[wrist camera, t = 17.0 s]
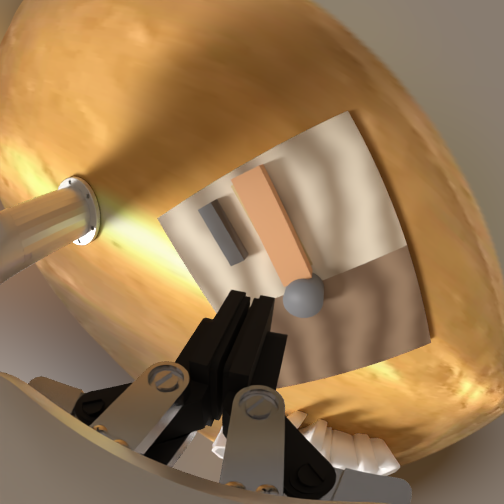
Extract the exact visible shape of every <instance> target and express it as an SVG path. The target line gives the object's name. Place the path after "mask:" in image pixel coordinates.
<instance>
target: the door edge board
mask: <svg viewBox="0 0 504 504" xmlns="http://www.w3.org/2000/svg"><path fill="white" fill-rule="evenodd" d="M262 164H263V165H264V167H265V169H266V171H267V173H268V175H269V177H270V179H271V181H272V183H273V185H274V187H275V189H276V191H277V193H278V195H279V197H280V199H281V202H282V204H283V206H284V208H285V210H286V212H287V214H288V216H289V219H290V221H291V223H292V225H293V227H294V229H295V232H296V234H297V236H298V238H299V240H300V243H301V245H302V247H303V249H304V252H305V254H306V256H307V258H308V261H309V263H310V265H311V268H312V270H313V272H312V273H315V274H316V275H318V276H319V277H320V278H321V280H322V281H323V284H324V299H323V306H322V308H321V310H320V311H319V312H318V313H317V314H316V315H314V316H312V317H309V318H299V317H296V316H293V315H292V314H290V313H289V312H288V311H287V310H286V309H285V307H284V304H283V296H284V292H285V289H286V286H285V287H284V286H283V284H282V282H281V280H280V278H279V276H278V274H277V272H276V270H275V268H274V266H273V264H272V262H271V260H270V258H269V256H268V254H267V251H266V249H265V247H264V245H263V243H262V241H261V239H260V237H259V235H258V233H257V231H256V229H255V227H254V225H253V223H252V221H251V219H250V217H249V215H248V213H247V211H246V209H245V207H244V205H243V203H242V201H241V199H240V197H239V195H238V193H237V191H236V189H235V187H234V185H233V183H232V182H231V179H233V178H235V177H237V176H239V175H241V174H243V173H245V172H247V171H249V170H251V169H253V168H255V167H257V166H259V165H262ZM157 219H158V220H159V222H160V224H161V226H162V227H163V229H164V231H165V232H166V234H167V236H168V237H169V239H170V241H171V242H172V244H173V246H174V247H175V249H176V251H177V252H178V254H179V256H180V257H181V259H182V260H183V262H184V264H185V265H186V267H187V269H188V270H189V272H190V273H191V275H192V276H193V278H194V280H195V281H196V283H197V284H198V286H199V287H200V289H201V290H202V292H203V294H204V295H205V297H206V298H207V300H208V301H209V303H210V304H211V306H212V307H213V309H214V310H215V312H216V313H217V312H218V311H219V309H220V307H221V306H222V304H223V302H224V301H225V299H226V297H227V296H228V294H229V292H230V291H231V290H237V291H242V292H246V296H248V297H250V298H251V300H250V306H251V304H252V302H253V299H254V298H259V297H260V295H263V296H269V297H274V298H275V303H274V310H273V317H272V323H271V330H270V332H275V333H281V334H286V335H288V337H287V342H286V346H285V351H284V356H283V361H282V365H281V370H280V374H279V379H278V383H277V387H276V388H282V387H287V386H292V385H297V384H301V383H306V382H310V381H315V380H319V379H323V378H327V377H331V376H335V375H338V374H342V373H346V372H349V371H353V370H356V369H359V368H363V367H366V366H369V365H372V364H375V363H378V362H381V361H384V360H387V359H390V358H393V357H396V356H398V355H401V354H404V353H406V352H409V351H412V350H414V349H417V348H419V347H422V346H424V345H427V344H429V343H431V340H430V334H429V329H428V324H427V319H426V314H425V309H424V305H423V301H422V296H421V292H420V288H419V284H418V281H417V277H416V273H415V270H414V266H413V263H412V259H411V256H410V253H409V250H408V247H407V243H406V240H405V237H404V234H403V232H402V229H401V226H400V223H399V220H398V218H397V215H396V212H395V210H394V207H393V204H392V202H391V199H390V197H389V194H388V192H387V190H386V187H385V185H384V183H383V180H382V178H381V176H380V173H379V171H378V169H377V167H376V165H375V162H374V160H373V158H372V156H371V154H370V152H369V150H368V148H367V146H366V144H365V142H364V140H363V138H362V136H361V134H360V132H359V130H358V128H357V127H356V125H355V123H354V121H353V119H352V117H351V116H350V114H349V112H348V111H346V112H344V113H342V114H339V115H337V116H335V117H333V118H331V119H329V120H327V121H325V122H322V123H320V124H318V125H316V126H314V127H312V128H310V129H308V130H306V131H304V132H302V133H300V134H298V135H296V136H294V137H292V138H291V139H289V140H287V141H285V142H283V143H281V144H279V145H277V146H275V147H274V148H272V149H270V150H268V151H266V152H264V153H263V154H261V155H259V156H257V157H255V158H254V159H252V160H250V161H248V162H247V163H245V164H243V165H241V166H240V167H238V168H236V169H235V170H233V171H231V172H229V173H228V174H226V175H224V176H223V177H221V178H219V179H218V180H216V181H214V182H213V183H211V184H210V185H208V186H206V187H205V188H203V189H202V190H200V191H198V192H197V193H195V194H194V195H192V196H191V197H189V198H187V199H186V200H184V201H183V202H181V203H180V204H178V205H177V206H175V207H174V208H172V209H171V210H169V211H168V212H166V213H165V214H163V215H162V216H160V217H159V218H157Z"/></svg>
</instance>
